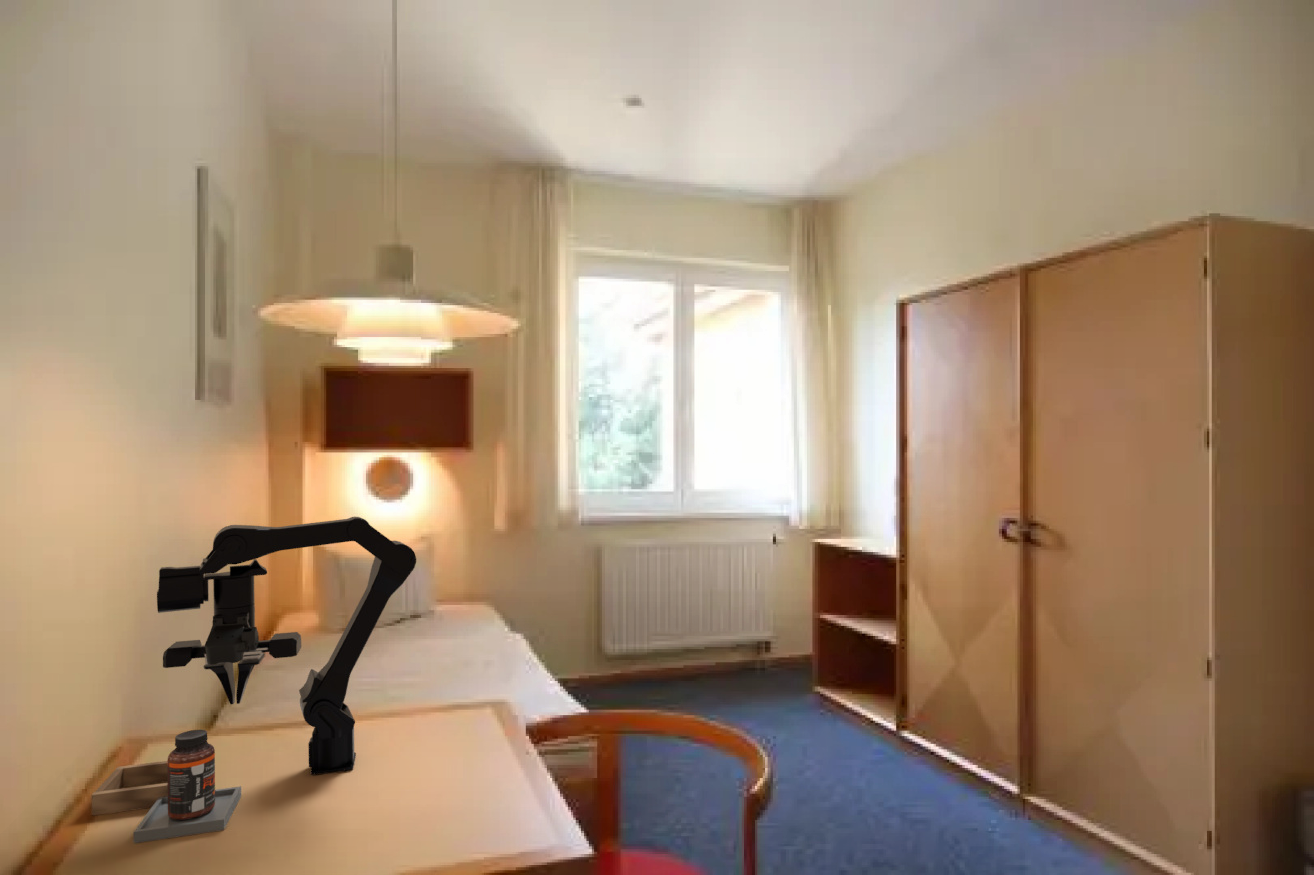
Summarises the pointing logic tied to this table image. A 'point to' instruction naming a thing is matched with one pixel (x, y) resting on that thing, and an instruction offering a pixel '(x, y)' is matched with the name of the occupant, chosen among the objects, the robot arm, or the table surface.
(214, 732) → the table surface
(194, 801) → the supplement bottle
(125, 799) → the walnut collar
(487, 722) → the table surface
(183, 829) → the slate tray
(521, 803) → the table surface
